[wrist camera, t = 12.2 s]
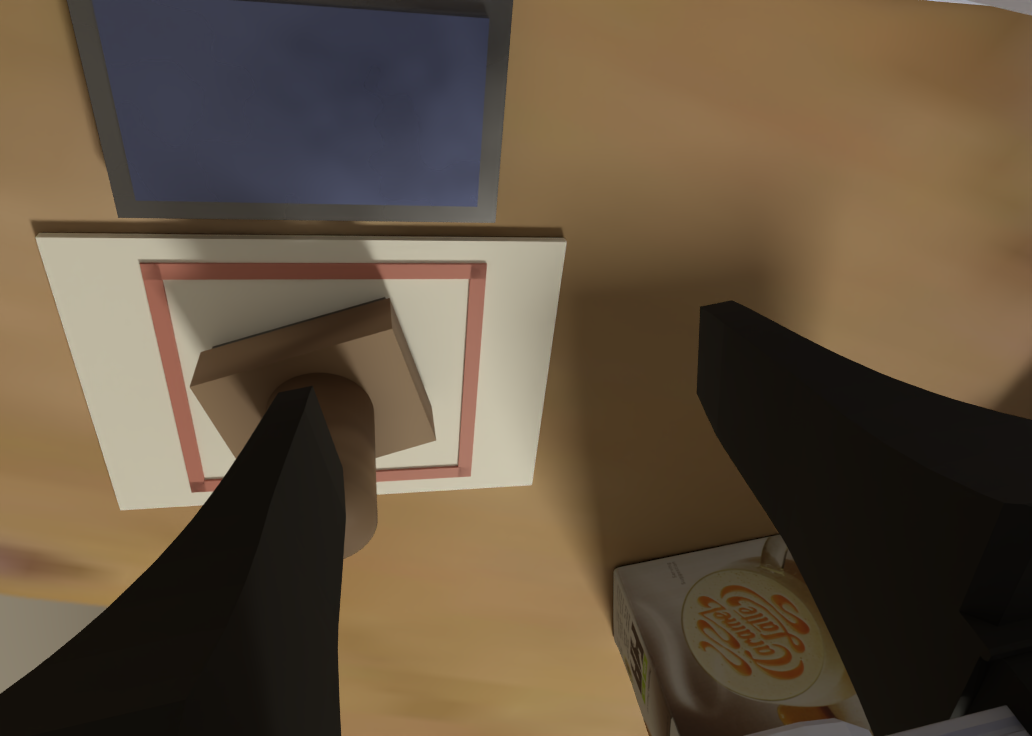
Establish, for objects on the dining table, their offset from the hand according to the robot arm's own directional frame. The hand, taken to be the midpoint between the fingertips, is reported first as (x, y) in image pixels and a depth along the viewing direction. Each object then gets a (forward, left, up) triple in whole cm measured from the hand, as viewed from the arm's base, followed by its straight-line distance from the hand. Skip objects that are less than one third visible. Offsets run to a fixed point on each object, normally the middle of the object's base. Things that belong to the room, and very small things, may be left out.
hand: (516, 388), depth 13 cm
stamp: (+4, +6, -10) cm, 12 cm away
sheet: (+4, +7, -10) cm, 13 cm away
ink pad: (+4, -2, -10) cm, 11 cm away
